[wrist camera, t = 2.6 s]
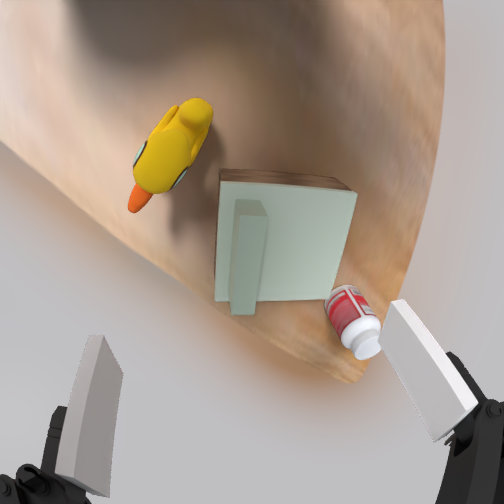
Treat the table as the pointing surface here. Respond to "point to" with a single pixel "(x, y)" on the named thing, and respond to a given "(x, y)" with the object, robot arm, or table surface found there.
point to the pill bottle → (354, 321)
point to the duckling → (169, 150)
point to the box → (275, 178)
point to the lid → (279, 242)
